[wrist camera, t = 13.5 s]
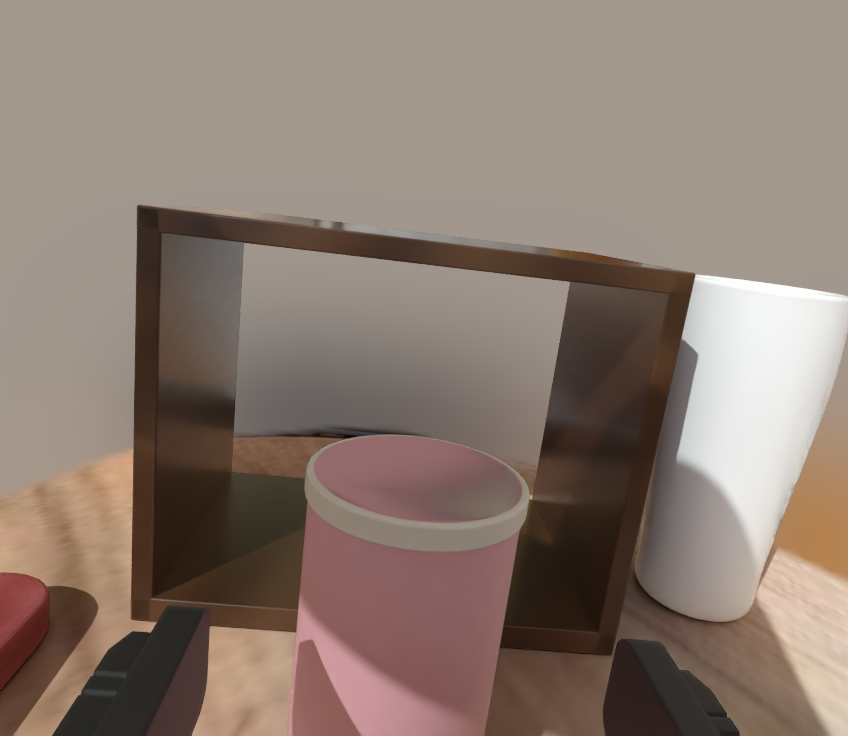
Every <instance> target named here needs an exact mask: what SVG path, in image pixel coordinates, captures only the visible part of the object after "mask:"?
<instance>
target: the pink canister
mask: <svg viewBox="0 0 848 736" xmlns="http://www.w3.org/2000/svg"><path fill="white" fill-rule="evenodd" d="M304 490H305V496H306V499H307V513H306V525H305V536H304V548H303V560H302V572H301V583H300V595H299V607H298V618H297V630H296V642H295V653H294V665H293V677H292V688H291V700H290V712H289V724H288V735H287V736H484V735H485V729H486V723H487V717H488V711H489V706H490V700H491V694H492V688H493V682H494V676H495V671H496V665H497V659H498V653H499V647H500V642H501V636H502V630H503V624H504V618H505V613H506V607H507V601H508V595H509V589H510V584H511V578H512V572H513V566H514V560H515V554H516V549H517V543H518V537H519V531H520V528H521V527H522V525H523V524H524V522H525V519H526V516H527V510H528V504H529V499H530V495H529V489H528V486H527V483H526V482H525V480H524V479H523V477H522V476H521V475H520V474H519V473H518V472H517V471H516V470H514V469H513V468H512V467H511V466H509V465H507V464H506V463H504V462H503V461H501V460H499V459H497V458H495V457H493V456H491V455H489V454H487V453H485V452H482V451H479V450H477V449H474V448H471V447H468V446H465V445H461V444H457V443H453V442H450V441H445V440H440V439H434V438H428V437H421V436H411V435H369V436H360V437H354V438H349V439H344V440H341V441H337V442H334V443H332V444H329V445H327V446H325V447H323V448H321V449H320V450H318V451H317V452H316V453H315V454H314V455H313V456H312V457H311V458H310V460H309V462H308V464H307V467H306V474H305V486H304Z"/></svg>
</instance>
